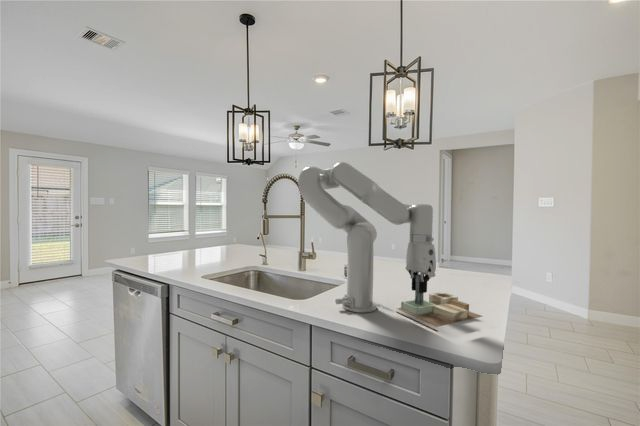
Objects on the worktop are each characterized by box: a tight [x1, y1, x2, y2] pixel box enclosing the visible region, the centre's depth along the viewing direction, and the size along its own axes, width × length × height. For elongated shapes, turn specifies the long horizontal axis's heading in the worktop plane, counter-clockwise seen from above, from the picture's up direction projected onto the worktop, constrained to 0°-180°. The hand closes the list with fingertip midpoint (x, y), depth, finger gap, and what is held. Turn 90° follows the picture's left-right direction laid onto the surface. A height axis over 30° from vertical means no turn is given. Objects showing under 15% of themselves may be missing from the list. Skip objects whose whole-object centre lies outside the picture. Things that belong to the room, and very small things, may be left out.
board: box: [396, 299, 483, 332], centre depth 105 cm, size 22×18×6 cm
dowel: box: [414, 273, 425, 305], centre depth 106 cm, size 3×3×10 cm
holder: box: [428, 291, 459, 305], centre depth 111 cm, size 7×7×4 cm
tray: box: [400, 299, 436, 316], centre depth 106 cm, size 9×8×2 cm
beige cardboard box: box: [433, 303, 468, 321], centre depth 102 cm, size 7×8×2 cm
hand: (419, 290), depth 106 cm, fingers closed on dowel, 2 cm apart
